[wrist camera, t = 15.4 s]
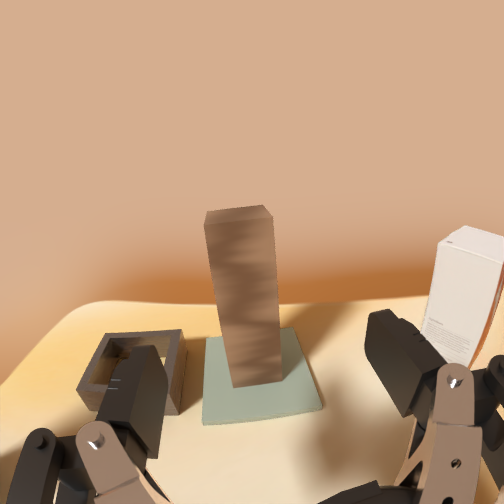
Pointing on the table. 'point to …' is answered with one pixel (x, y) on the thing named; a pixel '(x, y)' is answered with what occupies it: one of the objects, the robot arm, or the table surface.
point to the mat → (257, 387)
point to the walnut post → (246, 292)
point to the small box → (464, 293)
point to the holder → (121, 347)
